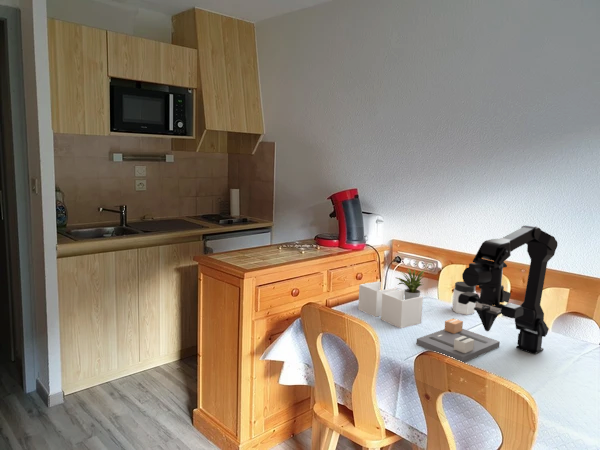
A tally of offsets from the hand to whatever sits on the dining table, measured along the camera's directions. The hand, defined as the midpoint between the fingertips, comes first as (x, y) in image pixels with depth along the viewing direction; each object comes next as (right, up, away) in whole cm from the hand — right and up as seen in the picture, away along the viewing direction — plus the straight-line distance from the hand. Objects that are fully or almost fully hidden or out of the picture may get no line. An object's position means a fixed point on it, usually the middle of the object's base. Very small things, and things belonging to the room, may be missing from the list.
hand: (487, 330), depth 145 cm
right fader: (-3, -5, +24) cm, 24 cm away
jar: (+11, -4, +52) cm, 53 cm away
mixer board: (-4, -9, +16) cm, 18 cm away
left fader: (-5, -8, +7) cm, 12 cm away
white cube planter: (-22, -4, +44) cm, 50 cm away
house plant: (-9, -2, +61) cm, 61 cm away
